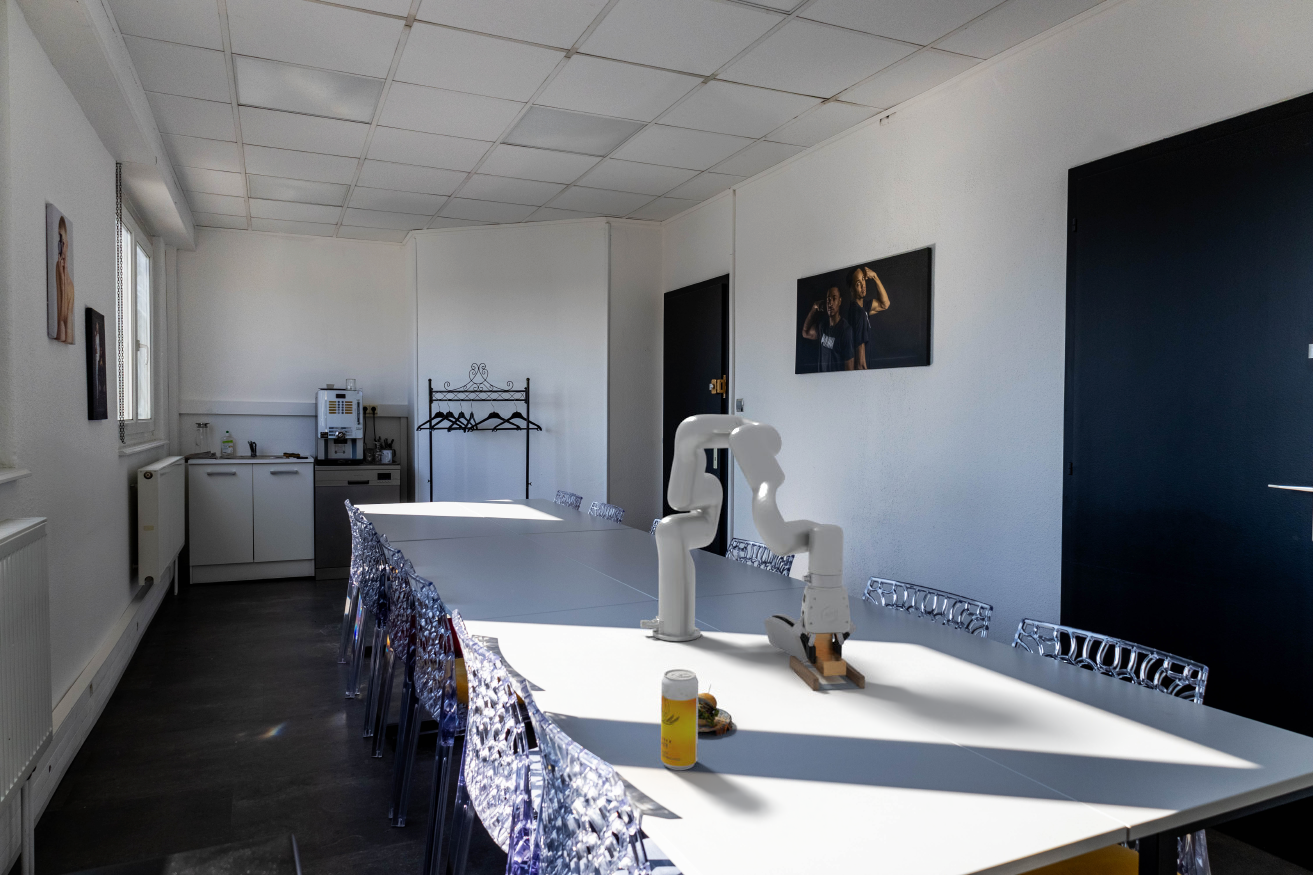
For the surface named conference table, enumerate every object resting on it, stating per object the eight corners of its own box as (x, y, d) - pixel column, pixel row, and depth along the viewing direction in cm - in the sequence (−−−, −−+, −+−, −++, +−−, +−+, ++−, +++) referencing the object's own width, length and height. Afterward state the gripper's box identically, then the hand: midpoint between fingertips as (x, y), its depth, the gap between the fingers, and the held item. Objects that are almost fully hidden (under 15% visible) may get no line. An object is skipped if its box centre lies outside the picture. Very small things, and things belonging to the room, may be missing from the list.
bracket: (808, 661, 183) (808, 630, 183) (829, 660, 184) (829, 629, 184) (823, 675, 173) (824, 643, 173) (846, 674, 174) (846, 642, 174)
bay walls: (813, 690, 170) (813, 678, 170) (789, 666, 186) (789, 655, 186) (864, 688, 172) (864, 676, 172) (836, 664, 188) (837, 654, 188)
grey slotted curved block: (822, 659, 192) (810, 621, 190) (806, 668, 190) (794, 629, 189) (786, 640, 207) (775, 605, 206) (770, 648, 206) (759, 613, 204)
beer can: (659, 755, 137) (660, 668, 137) (694, 754, 138) (695, 667, 137) (662, 771, 131) (663, 680, 131) (699, 770, 132) (700, 679, 131)
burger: (659, 719, 155) (659, 680, 154) (714, 710, 159) (714, 673, 159) (686, 742, 144) (686, 701, 143) (744, 732, 148) (744, 692, 148)
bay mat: (819, 690, 171) (819, 688, 171) (794, 666, 186) (795, 664, 186) (858, 688, 172) (858, 686, 172) (831, 664, 188) (831, 663, 188)
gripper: (793, 584, 174) (792, 668, 175) (868, 583, 177) (867, 665, 178) (783, 577, 182) (781, 657, 182) (855, 576, 184) (853, 655, 185)
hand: (823, 660), depth 180 cm, fingers closed on bracket, 5 cm apart
